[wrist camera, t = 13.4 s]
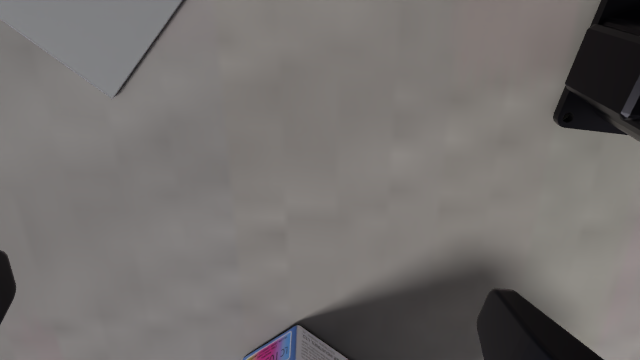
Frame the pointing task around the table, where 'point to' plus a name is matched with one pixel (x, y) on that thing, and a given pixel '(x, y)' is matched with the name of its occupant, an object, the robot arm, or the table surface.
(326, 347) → the ink cartridge box
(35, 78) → the table surface
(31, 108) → the table surface
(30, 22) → the mat
